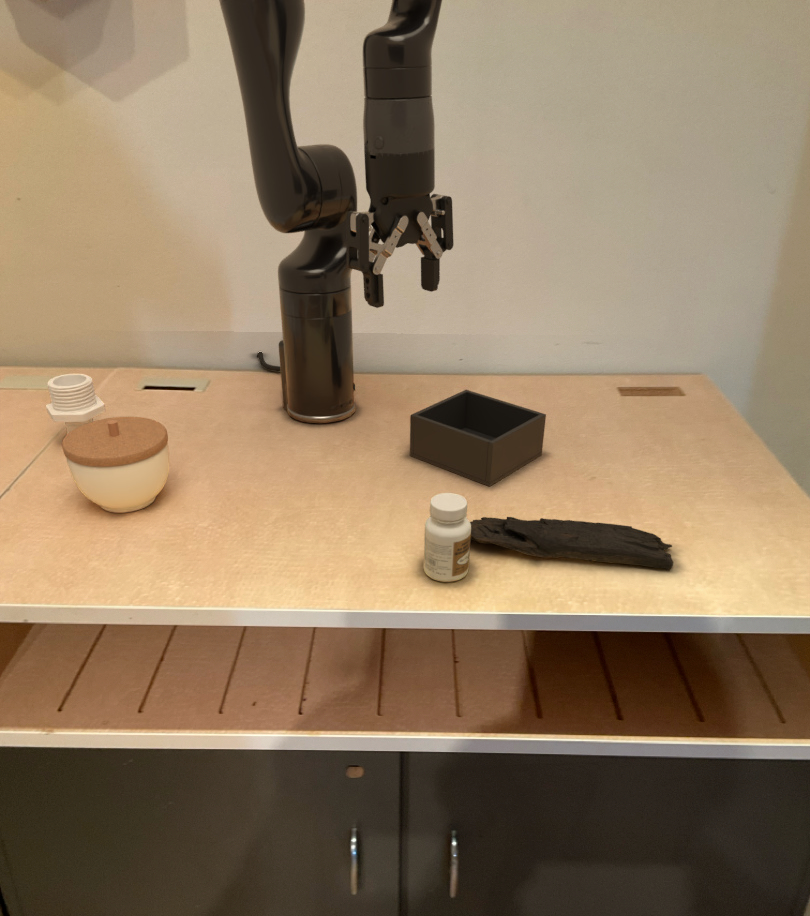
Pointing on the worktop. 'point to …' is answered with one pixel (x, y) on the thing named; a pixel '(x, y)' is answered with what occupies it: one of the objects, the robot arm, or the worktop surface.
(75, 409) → the pipe fitting
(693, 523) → the worktop surface
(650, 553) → the wood
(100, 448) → the trinket box
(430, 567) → the pill bottle
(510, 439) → the open box
